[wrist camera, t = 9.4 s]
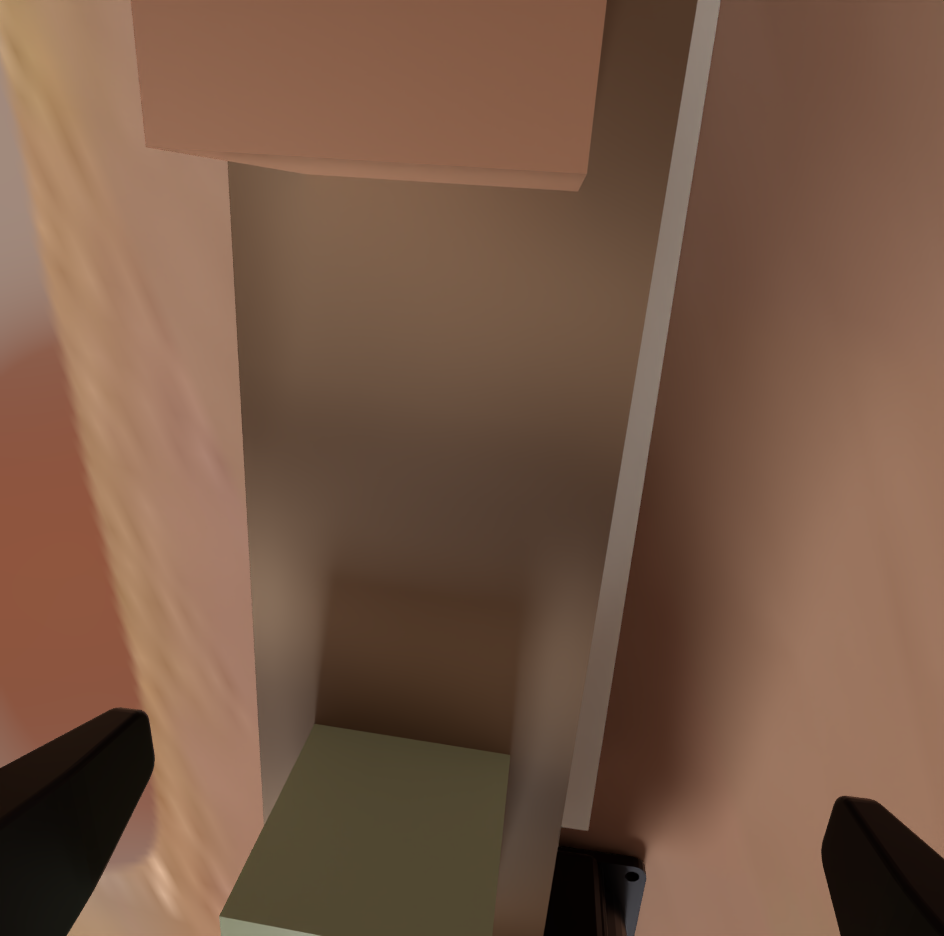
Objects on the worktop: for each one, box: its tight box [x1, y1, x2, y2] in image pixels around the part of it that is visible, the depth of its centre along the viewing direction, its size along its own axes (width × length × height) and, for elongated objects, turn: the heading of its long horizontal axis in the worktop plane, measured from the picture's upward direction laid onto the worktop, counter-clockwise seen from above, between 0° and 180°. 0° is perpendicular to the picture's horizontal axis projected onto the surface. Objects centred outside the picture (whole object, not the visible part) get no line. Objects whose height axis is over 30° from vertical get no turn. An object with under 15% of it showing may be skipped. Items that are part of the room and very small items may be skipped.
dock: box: [561, 0, 721, 831], centre depth 17 cm, size 25×9×3 cm, turn 177°
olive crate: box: [219, 724, 510, 936], centre depth 12 cm, size 4×4×4 cm
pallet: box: [228, 0, 698, 936], centre depth 14 cm, size 24×6×5 cm, turn 176°
